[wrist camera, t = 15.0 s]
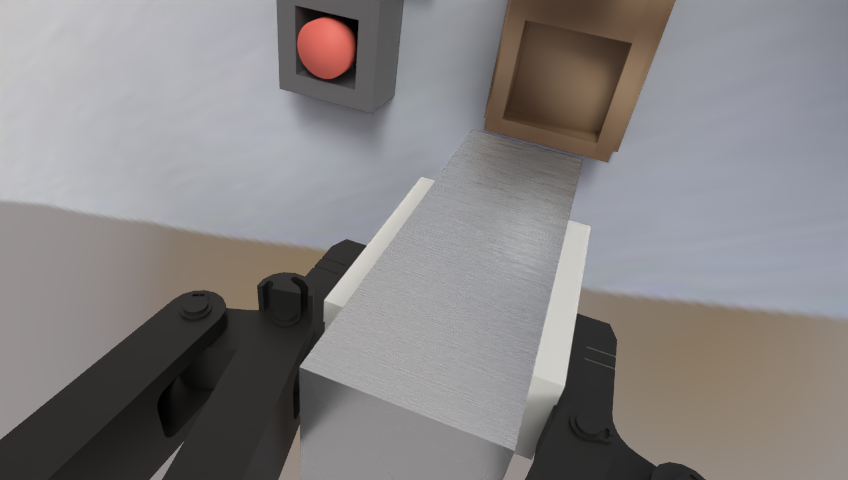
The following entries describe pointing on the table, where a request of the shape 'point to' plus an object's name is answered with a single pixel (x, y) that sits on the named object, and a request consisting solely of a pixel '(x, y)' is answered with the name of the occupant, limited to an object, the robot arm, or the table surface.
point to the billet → (443, 326)
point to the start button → (327, 47)
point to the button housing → (376, 51)
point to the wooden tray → (573, 71)
